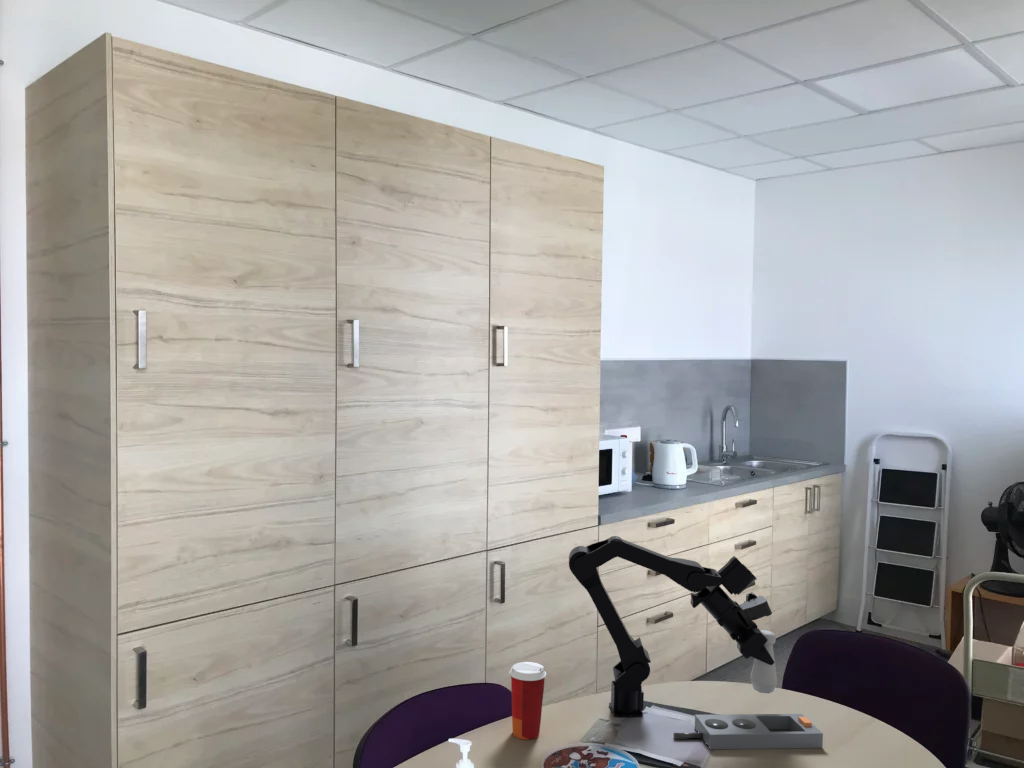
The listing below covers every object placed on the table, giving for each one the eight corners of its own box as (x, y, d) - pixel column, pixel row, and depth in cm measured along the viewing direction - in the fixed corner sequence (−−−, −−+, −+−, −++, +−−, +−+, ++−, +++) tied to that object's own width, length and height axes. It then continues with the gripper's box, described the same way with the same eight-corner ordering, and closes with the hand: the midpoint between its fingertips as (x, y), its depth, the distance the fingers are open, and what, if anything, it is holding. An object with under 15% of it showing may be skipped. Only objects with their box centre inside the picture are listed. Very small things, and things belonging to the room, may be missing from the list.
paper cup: (548, 729, 169) (550, 664, 169) (538, 745, 162) (540, 676, 162) (513, 723, 172) (516, 658, 172) (501, 738, 165) (504, 670, 164)
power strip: (681, 749, 162) (681, 730, 162) (667, 728, 172) (668, 711, 172) (822, 747, 165) (823, 729, 165) (801, 727, 174) (801, 710, 174)
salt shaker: (778, 696, 174) (780, 637, 174) (751, 693, 176) (753, 634, 176) (775, 686, 180) (777, 629, 180) (748, 683, 181) (751, 626, 181)
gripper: (759, 595, 169) (810, 651, 168) (741, 574, 187) (787, 624, 187) (719, 630, 169) (770, 685, 169) (705, 605, 188) (751, 655, 187)
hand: (770, 660), depth 178 cm, fingers closed on salt shaker, 3 cm apart
